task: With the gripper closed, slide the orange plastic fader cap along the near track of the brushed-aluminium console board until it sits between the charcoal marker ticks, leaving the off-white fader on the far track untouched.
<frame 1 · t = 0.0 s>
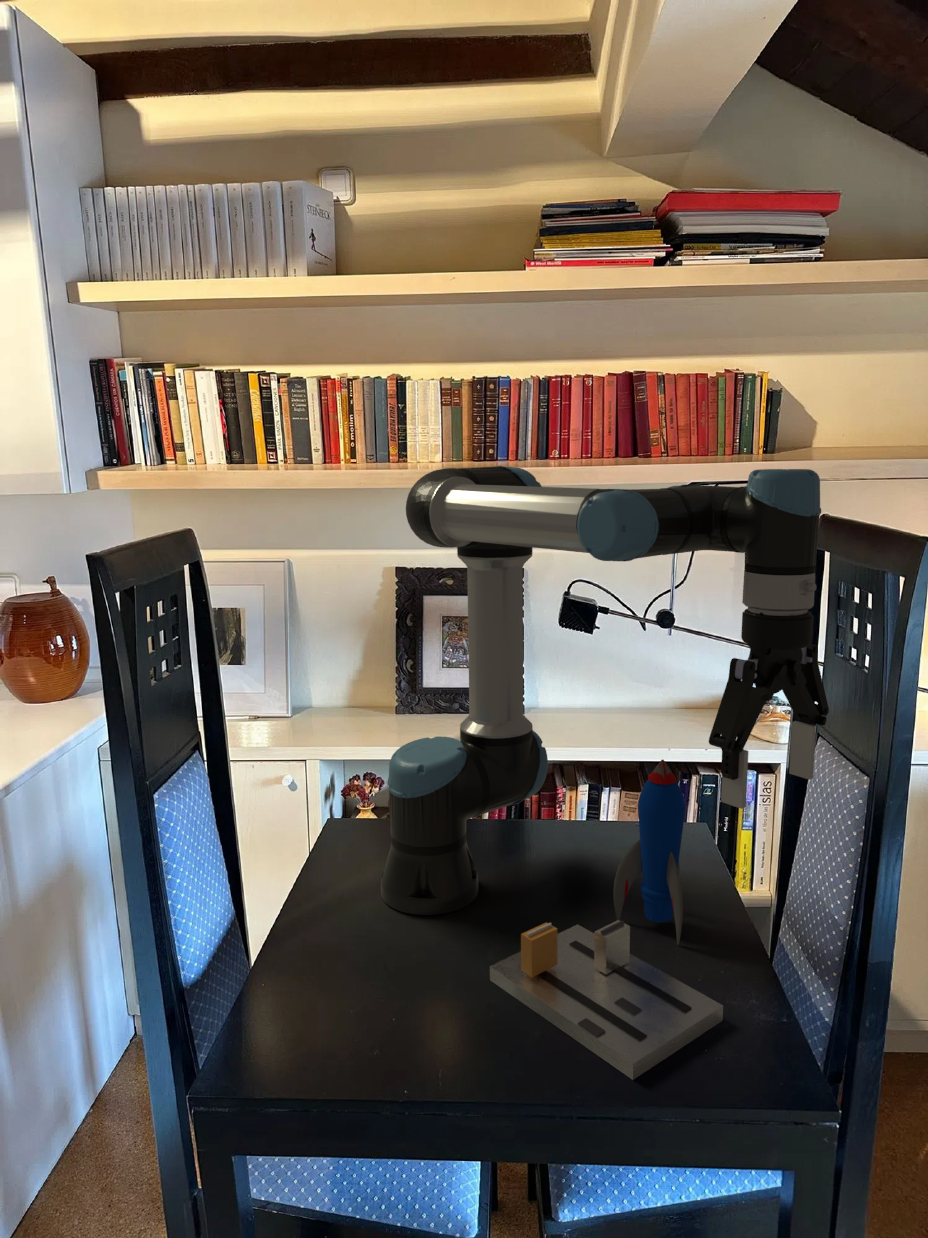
hand: (768, 790, 103), 28 cm above the table, fingers open, 13 cm apart
toy rocket: (646, 926, 127), on the table
console: (601, 999, 110), on the table
fader: (539, 948, 112), point 5 cm above the table, slide at 0.0 cm
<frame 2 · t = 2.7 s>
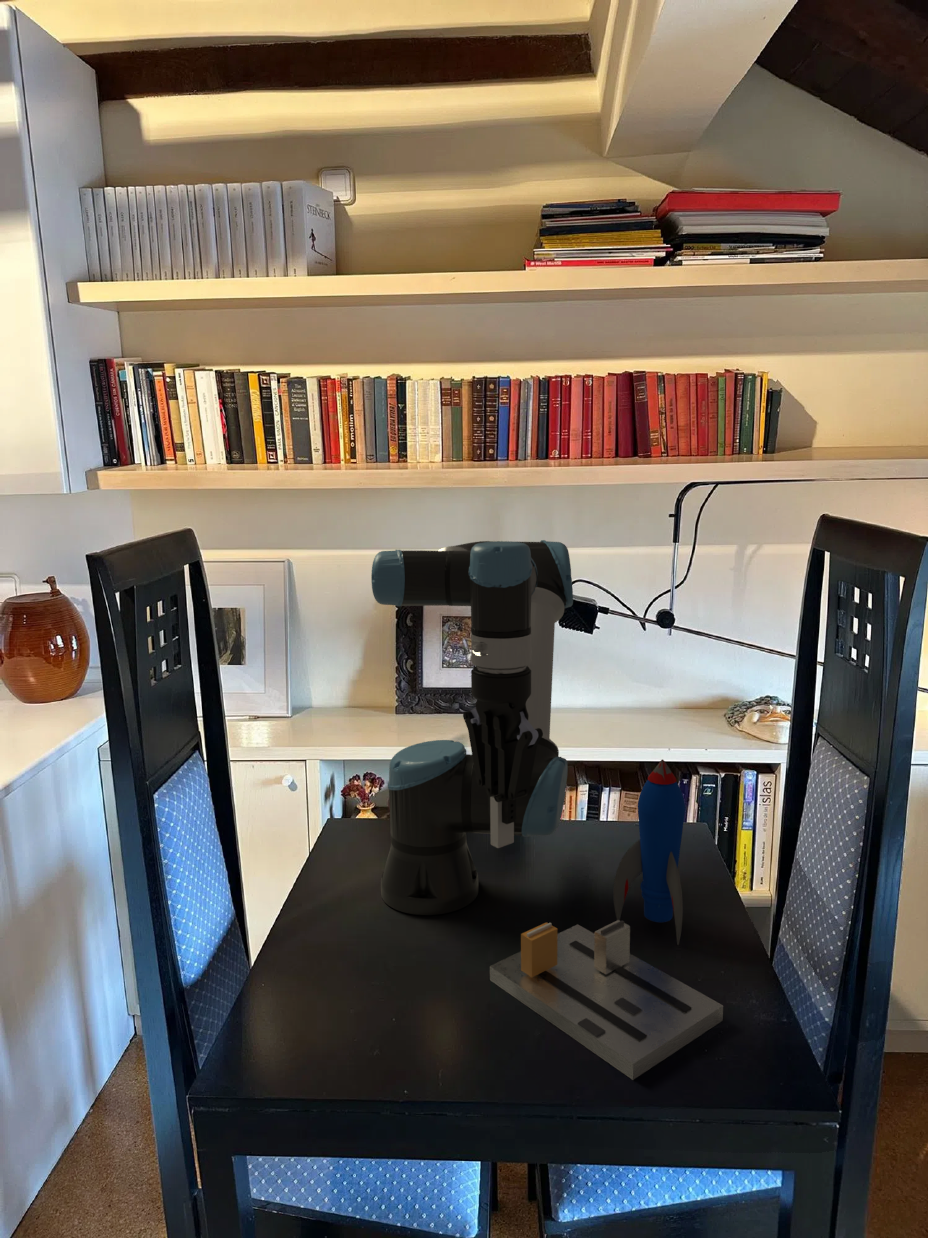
hand: (502, 843, 115), 17 cm above the table, fingers closed
nothing on the table moved.
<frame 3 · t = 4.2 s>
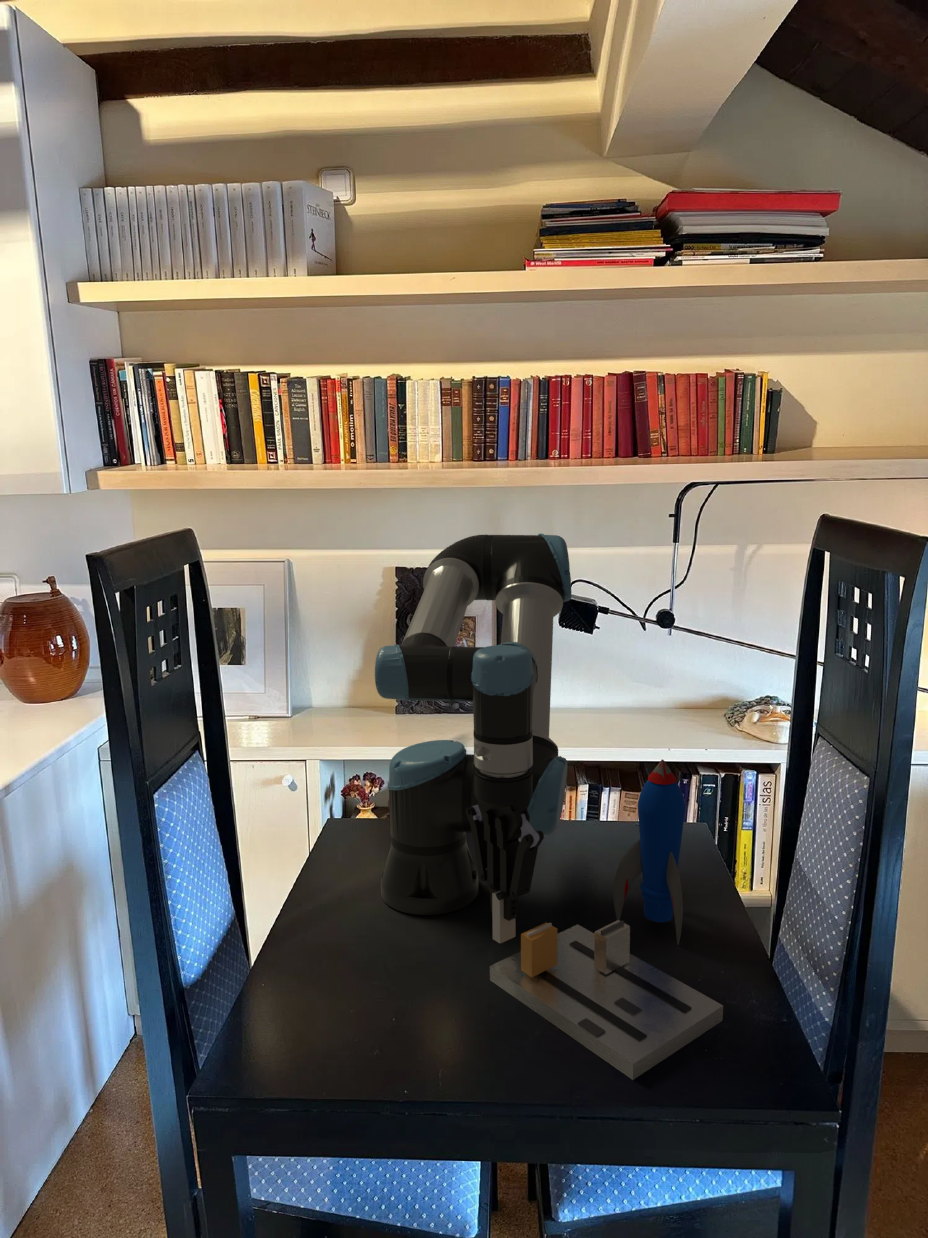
hand: (504, 937, 117), 4 cm above the table, fingers closed
nothing on the table moved.
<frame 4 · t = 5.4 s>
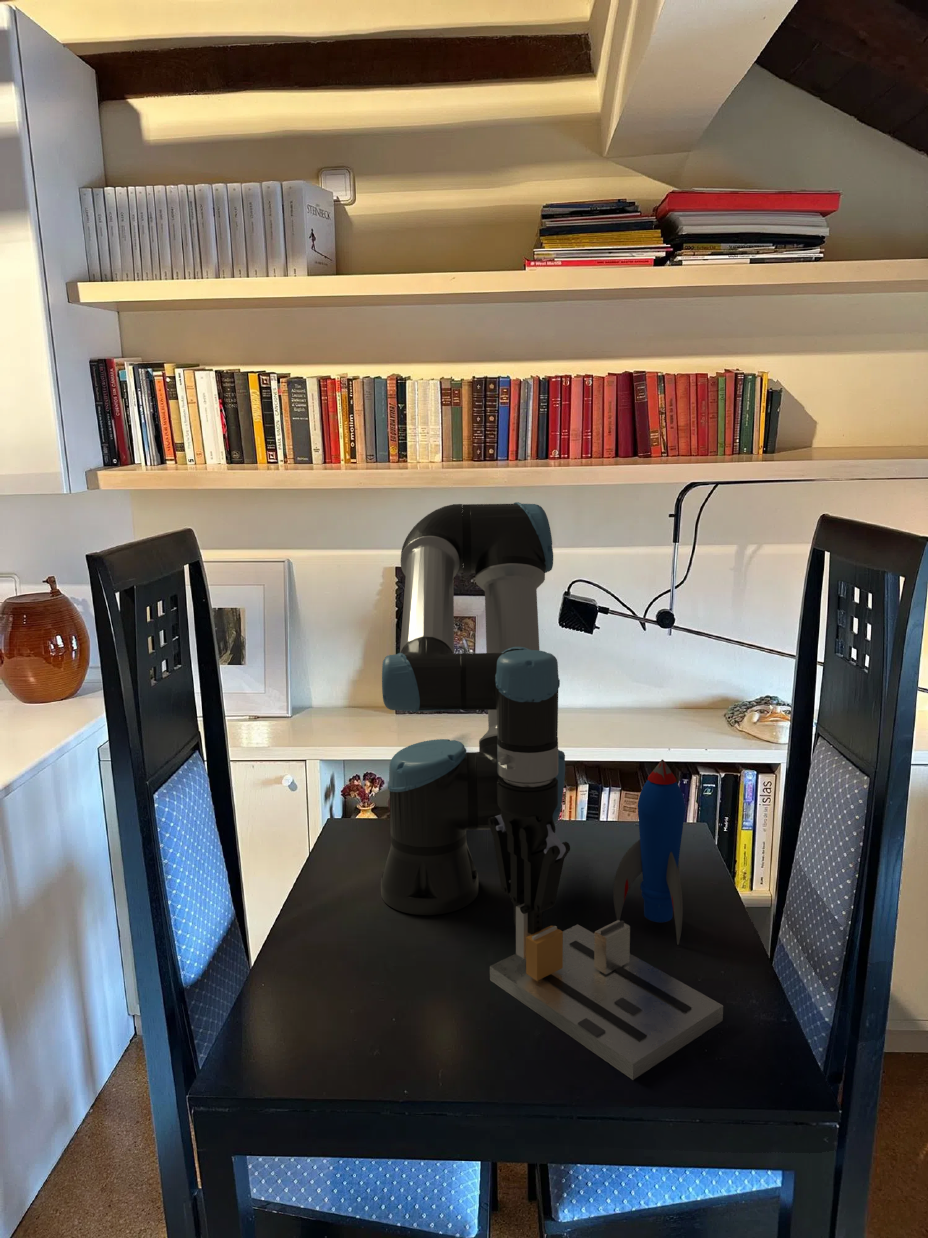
hand: (527, 952, 113), 4 cm above the table, fingers closed
fader: (544, 951, 111), point 5 cm above the table, slide at 1.0 cm, touching gripper
everything else where it was.
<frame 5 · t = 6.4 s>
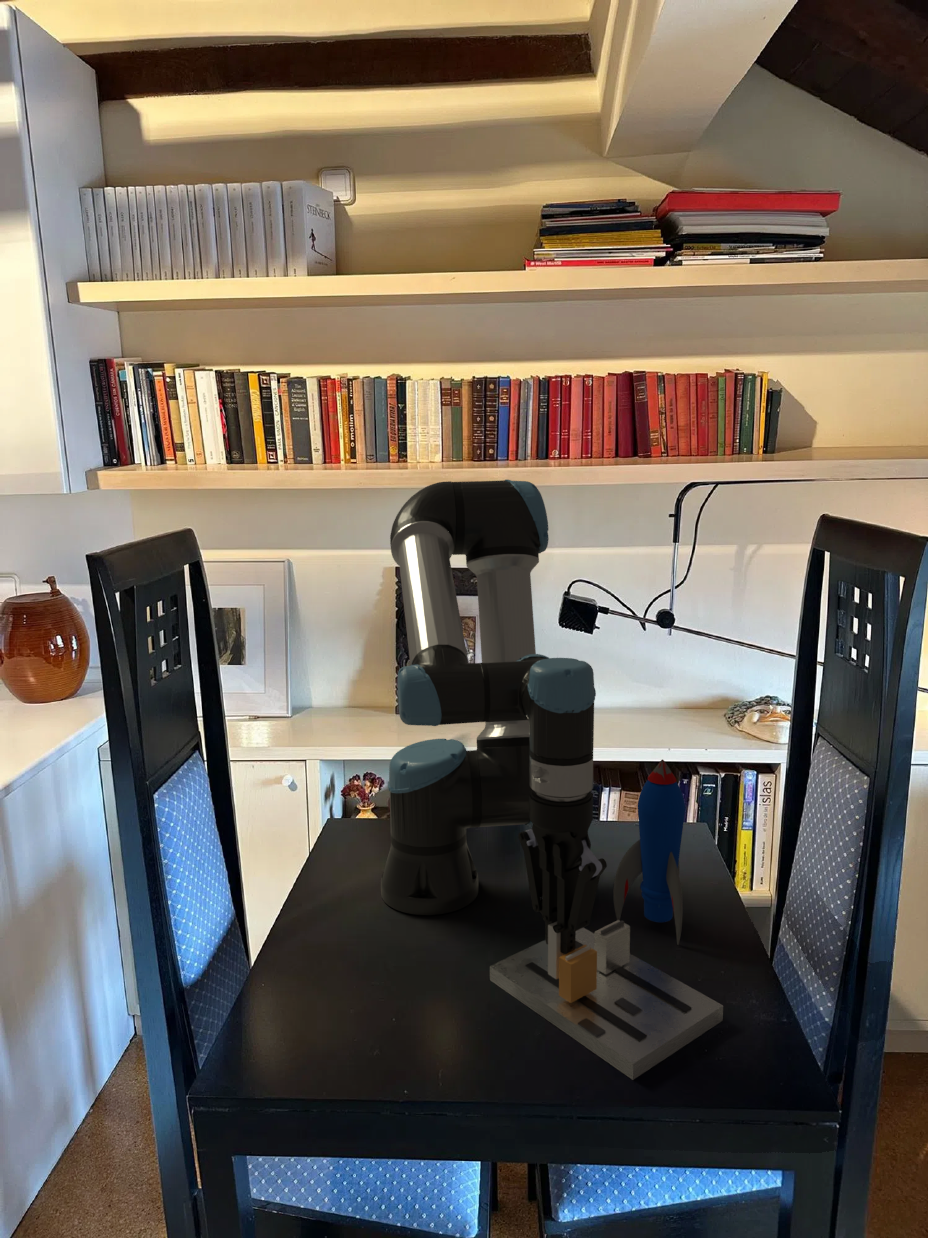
hand: (560, 972, 109), 4 cm above the table, fingers closed
fader: (578, 972, 107), point 5 cm above the table, slide at 6.8 cm, touching gripper
everything else where it was.
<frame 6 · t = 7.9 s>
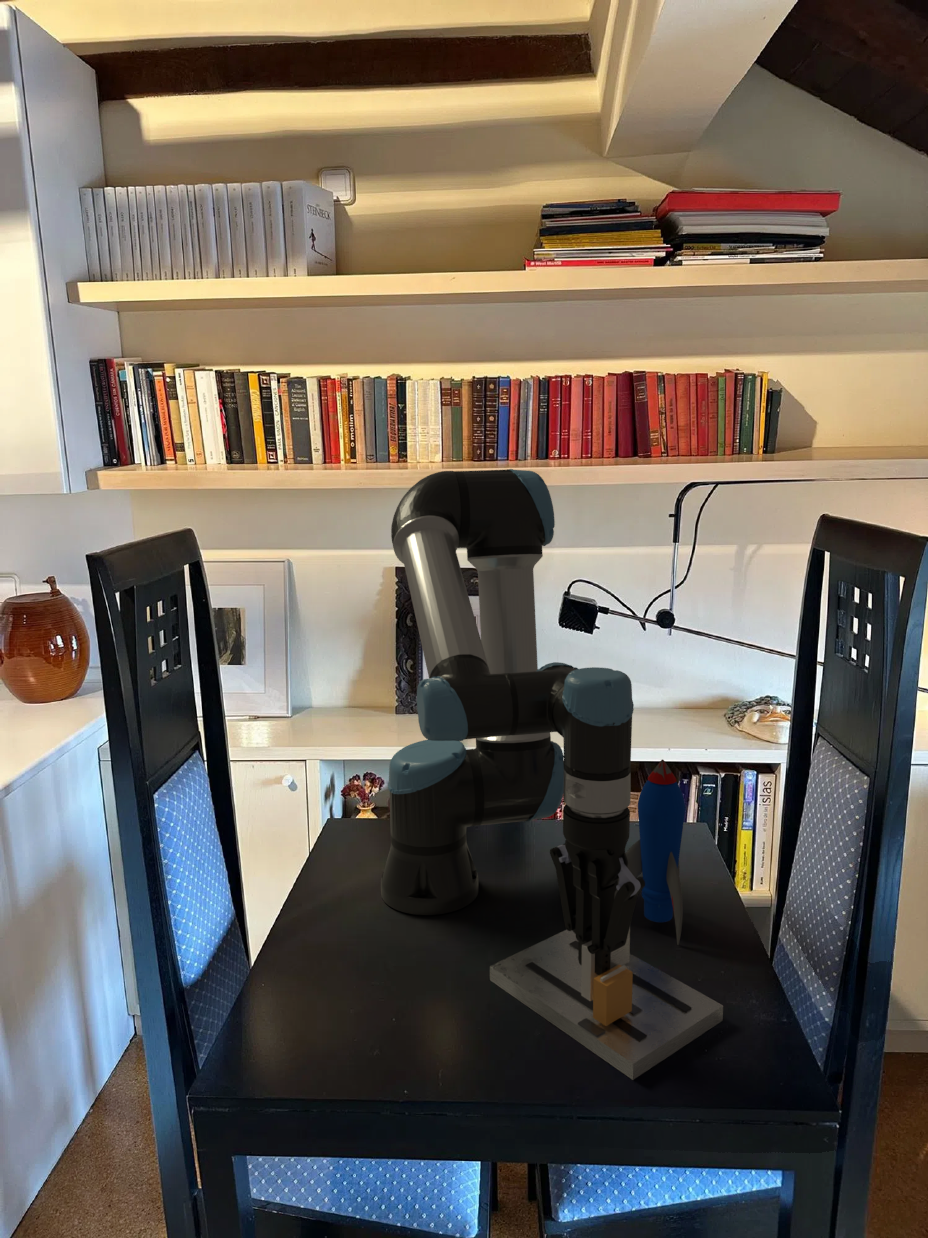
hand: (593, 994, 105), 4 cm above the table, fingers closed
fader: (612, 993, 102), point 5 cm above the table, slide at 12.4 cm, touching gripper
everything else where it was.
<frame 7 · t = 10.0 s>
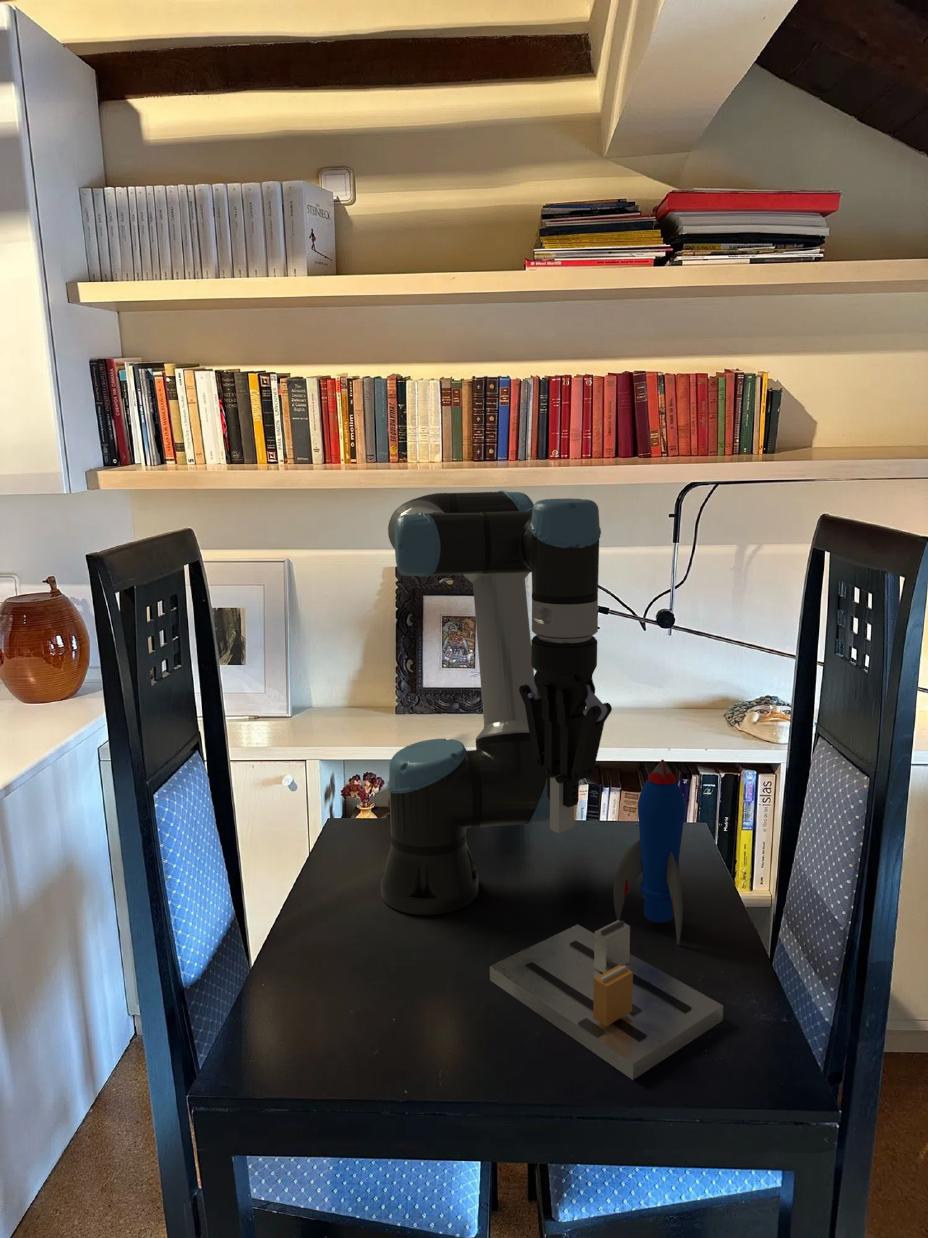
hand: (562, 828, 106), 23 cm above the table, fingers closed
fader: (613, 993, 102), point 5 cm above the table, slide at 12.4 cm
everything else where it was.
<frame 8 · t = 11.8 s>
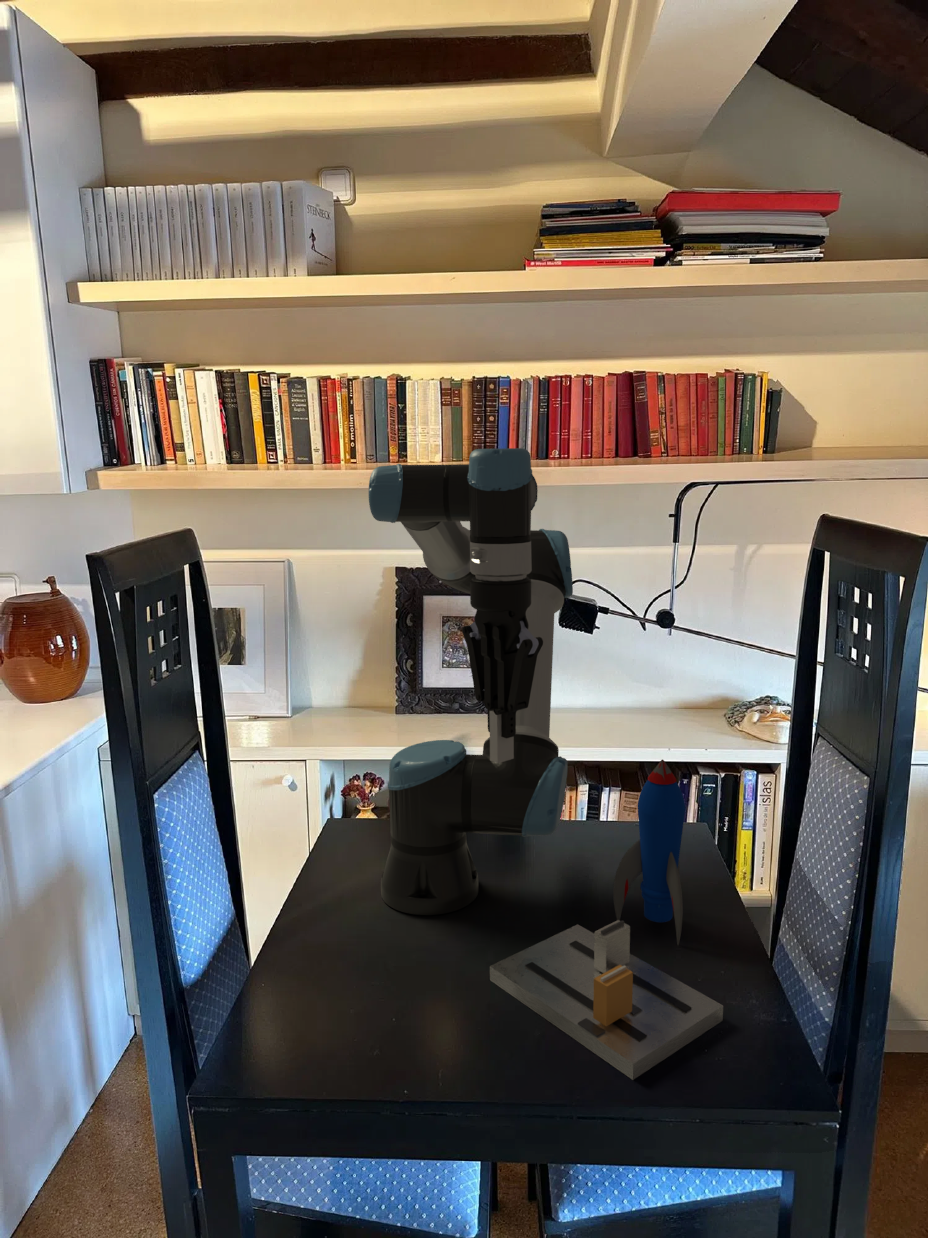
hand: (501, 759, 113), 28 cm above the table, fingers closed
nothing on the table moved.
at the end: fader slide at 12.4 cm; fader touching nothing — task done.
